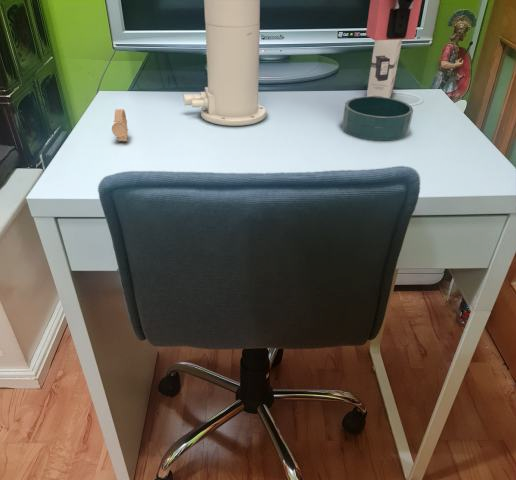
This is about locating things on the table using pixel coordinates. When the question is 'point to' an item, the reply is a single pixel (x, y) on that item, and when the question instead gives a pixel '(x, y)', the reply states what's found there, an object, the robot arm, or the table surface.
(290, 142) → the table surface
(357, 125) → the bowl
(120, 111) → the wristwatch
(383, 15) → the eraser
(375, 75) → the ink box
